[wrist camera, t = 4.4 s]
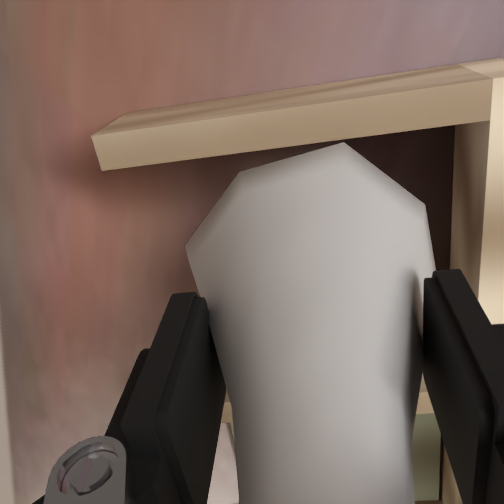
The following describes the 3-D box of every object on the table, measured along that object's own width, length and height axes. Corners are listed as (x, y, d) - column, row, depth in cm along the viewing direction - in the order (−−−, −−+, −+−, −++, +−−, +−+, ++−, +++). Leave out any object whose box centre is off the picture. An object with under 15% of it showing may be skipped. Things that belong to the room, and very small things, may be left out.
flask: (280, 387, 17) (265, 812, 8) (144, 234, 14) (-90, 607, 6) (478, 292, 14) (761, 752, 6) (355, 89, 12) (521, 348, 3)
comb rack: (126, 113, 16) (90, 135, 13) (500, 57, 14) (546, 71, 11) (235, 516, 25) (227, 577, 23) (466, 513, 23) (488, 578, 21)
